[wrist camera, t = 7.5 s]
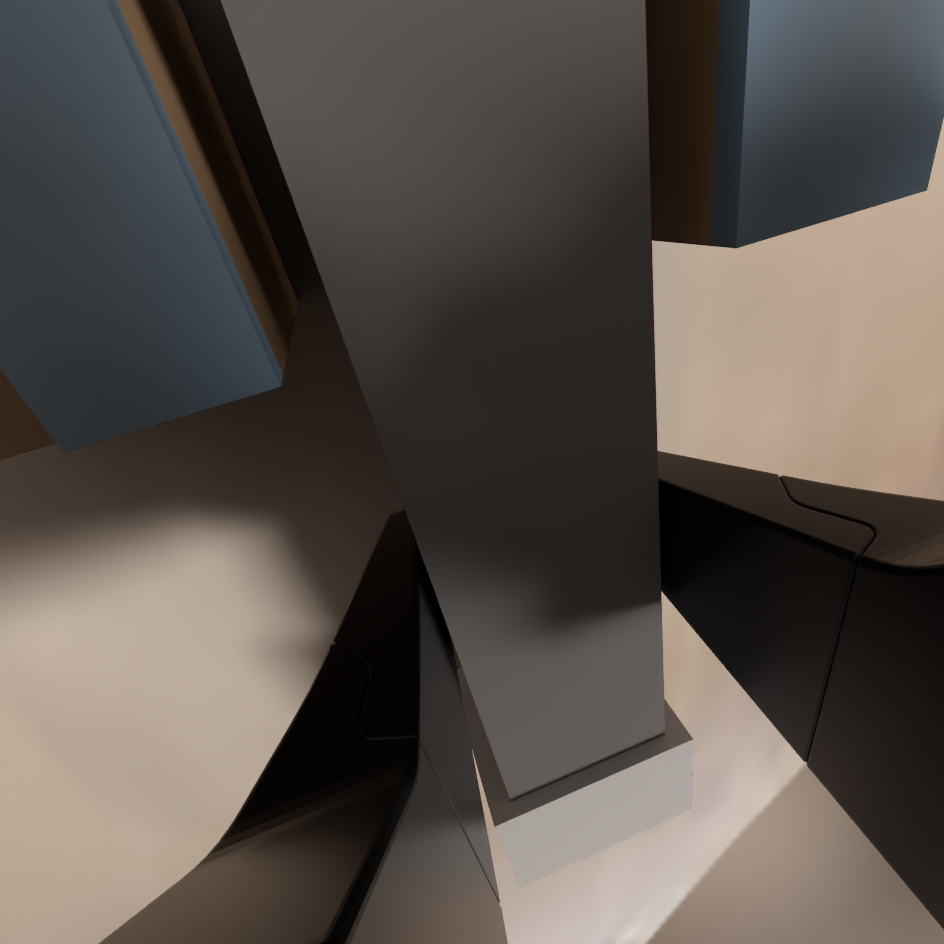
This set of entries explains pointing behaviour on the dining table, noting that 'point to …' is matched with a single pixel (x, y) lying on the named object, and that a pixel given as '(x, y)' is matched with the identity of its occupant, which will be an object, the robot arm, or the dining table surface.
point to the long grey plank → (503, 365)
